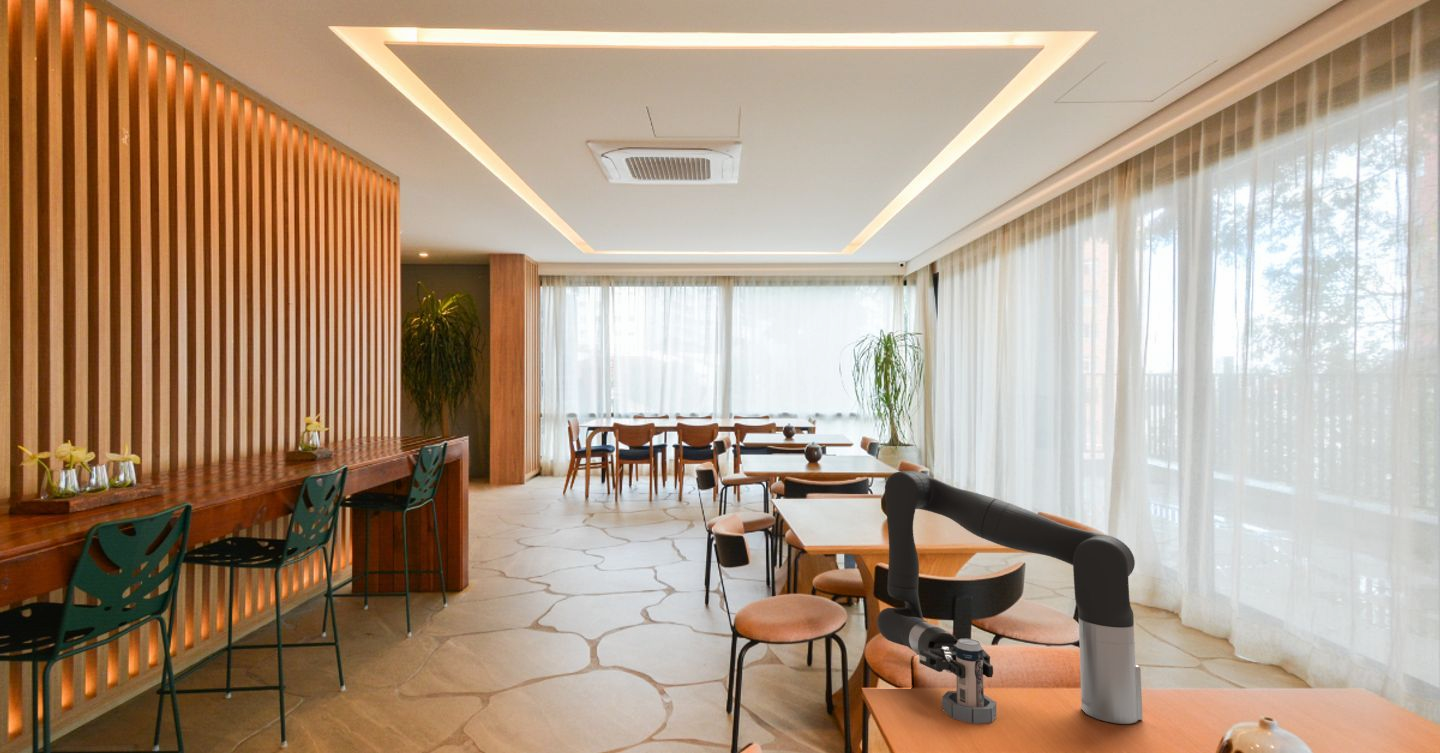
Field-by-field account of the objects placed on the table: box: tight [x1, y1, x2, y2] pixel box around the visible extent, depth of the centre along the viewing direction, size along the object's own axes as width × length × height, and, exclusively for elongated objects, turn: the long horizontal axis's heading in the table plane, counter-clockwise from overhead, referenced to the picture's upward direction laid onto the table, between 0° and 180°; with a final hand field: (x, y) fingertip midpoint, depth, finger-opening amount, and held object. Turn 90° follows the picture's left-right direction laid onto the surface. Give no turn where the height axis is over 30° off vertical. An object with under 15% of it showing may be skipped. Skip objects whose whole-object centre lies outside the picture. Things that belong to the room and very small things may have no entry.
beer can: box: [956, 638, 985, 707], centre depth 123 cm, size 5×5×12 cm
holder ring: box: [941, 690, 998, 725], centre depth 123 cm, size 9×9×2 cm
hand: (977, 672), depth 121 cm, fingers closed on beer can, 4 cm apart
